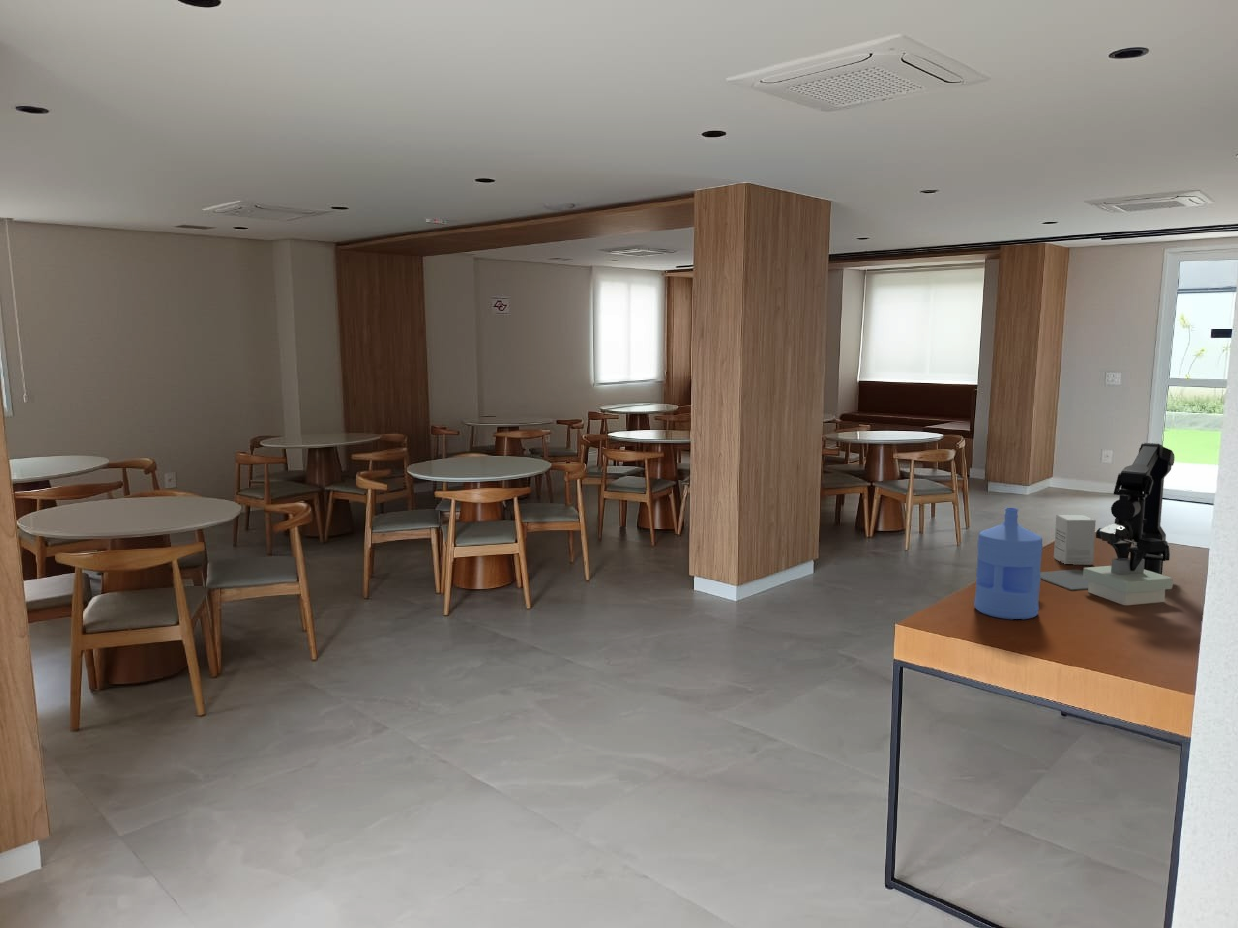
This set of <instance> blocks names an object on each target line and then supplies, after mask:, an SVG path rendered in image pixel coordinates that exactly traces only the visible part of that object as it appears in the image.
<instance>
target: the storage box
mask: <svg viewBox="0 0 1238 928" xmlns="http://www.w3.org/2000/svg"><path fill="white" fill-rule="evenodd" d="M1087 590H1088V594H1089V593H1090V594H1093V595H1095V596H1098V597H1100V598H1104V599H1105V600H1108V601H1111V602H1114V603H1117V604H1119V605H1122V606H1132V605H1134V606H1135V605H1145V604H1157V603H1158V604H1159V603H1165V597H1166V589H1163V590H1152V591H1140V592H1128V593H1125V592H1122V591H1119V590H1116V589H1113V588H1111V587H1108V586H1105V585H1102V584H1099V583H1096V582H1093V581H1090V580H1089V587H1088V589H1087Z"/></svg>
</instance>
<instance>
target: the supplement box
mask: <svg viewBox="0 0 1238 928" xmlns="http://www.w3.org/2000/svg"><path fill="white" fill-rule="evenodd" d="M1096 522H1097V521H1096V519H1093V518H1091V517H1090V516H1087V515H1085V514H1056V516H1055V533H1054V550H1053V551H1054V552H1053V559H1054V560H1055V561H1056V560H1057V561H1058V562H1060V561H1061V562H1060V563H1062V564H1063V563H1064V565H1065V564H1073V566H1076V565H1077V566H1079V565H1081V566H1082V565H1087V566H1088V565H1089V566H1090V565H1091V566H1093V565H1094V554H1095V538H1096Z"/></svg>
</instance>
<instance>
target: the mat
mask: <svg viewBox="0 0 1238 928" xmlns="http://www.w3.org/2000/svg"><path fill="white" fill-rule="evenodd" d="M1040 575H1041V581H1044V582H1047V583H1050V584H1053V585H1056V586H1058V587H1061V588H1064V589H1065V590H1068V591H1071V590H1072V591H1082V590H1088V587H1089V580H1088V579H1085V578H1083V570H1080V569H1067V570H1066V569H1064V570H1054V571H1040Z"/></svg>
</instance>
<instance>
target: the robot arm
mask: <svg viewBox="0 0 1238 928" xmlns="http://www.w3.org/2000/svg"><path fill="white" fill-rule="evenodd" d="M1175 459H1176V458H1175V453H1174V451H1173V450H1172V449H1170V448H1167V447H1164V446H1163V444H1160V443H1157V442H1156V443H1155V442H1153V443H1151V442H1144V443H1141V445H1140V447H1139V448H1138V453H1137V456H1136V458H1135V459H1134V460H1133V462H1132V464H1131V465H1128V466H1127V465H1126V466H1125V467H1124V468H1123V469H1122V470H1121V472H1120V473H1118V475H1117V479H1116V483H1115V485H1114V490H1113V495H1114V496H1119V499H1117V500H1115V501H1114V502H1113V503H1112V505H1111V507H1110V513H1111V514H1112V515H1113V517H1114V518H1115V519H1114V523H1113V524H1108V525H1105V526H1104V527H1099V528H1098V529H1097V530H1095V538H1096V539H1098V540H1099V539H1100V540H1101V541H1102V542H1106V543H1107V544H1108V545H1109V546H1111V547H1112V548H1113V549H1114V551H1115V554H1116V558H1127V557H1130V571H1135V569H1136V568H1137V566H1138V565H1139V563H1140V562H1141V560H1142V559H1145V562H1144V569H1145V570H1148V571H1151V572H1154V573H1158V574H1161V575H1163V569H1164V562H1166V561H1170V556H1171V551H1170V545H1169V543H1168V541H1167V540H1166V539H1167V534H1166V532H1165V531H1164V529H1163V528H1162V526H1161V523H1162V510H1163V509H1162V508H1163V498H1164V485H1165V484H1164V482H1165V477H1167V475H1168V474H1169V473H1170V472H1171V470H1172V466H1174V463H1175ZM1129 555H1130V556H1129Z"/></svg>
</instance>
